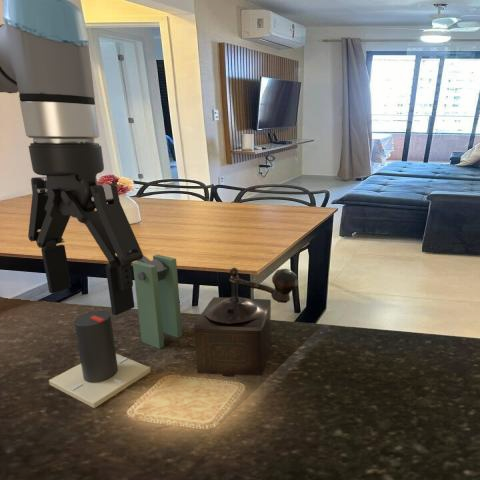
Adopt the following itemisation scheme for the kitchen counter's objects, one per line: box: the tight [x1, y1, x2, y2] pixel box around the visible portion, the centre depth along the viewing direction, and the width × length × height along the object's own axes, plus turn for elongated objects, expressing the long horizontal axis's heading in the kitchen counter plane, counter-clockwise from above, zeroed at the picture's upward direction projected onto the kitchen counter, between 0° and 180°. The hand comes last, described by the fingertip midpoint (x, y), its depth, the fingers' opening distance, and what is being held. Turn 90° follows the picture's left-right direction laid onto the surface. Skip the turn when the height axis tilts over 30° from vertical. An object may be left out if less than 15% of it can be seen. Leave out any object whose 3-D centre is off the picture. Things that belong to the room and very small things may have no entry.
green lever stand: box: [132, 253, 183, 350], centre depth 65 cm, size 10×9×16 cm
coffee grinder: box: [193, 267, 299, 378], centre depth 60 cm, size 16×11×18 cm
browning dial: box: [73, 310, 118, 383], centre depth 55 cm, size 4×4×9 cm
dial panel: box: [48, 353, 152, 409], centre depth 56 cm, size 10×9×2 cm
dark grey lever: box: [130, 251, 168, 281], centre depth 65 cm, size 12×5×2 cm, turn 61°
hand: (90, 300), depth 53 cm, fingers open, 13 cm apart
